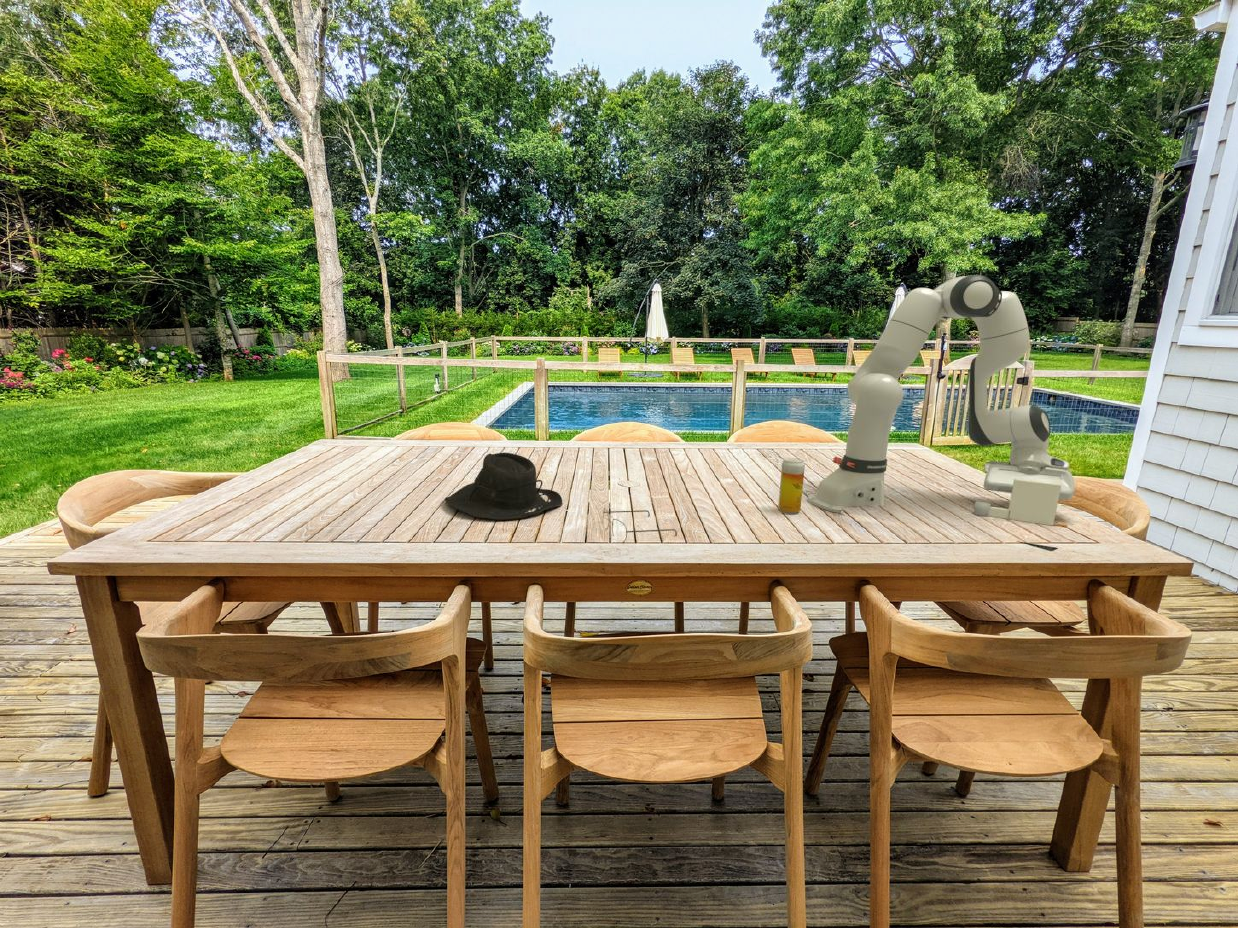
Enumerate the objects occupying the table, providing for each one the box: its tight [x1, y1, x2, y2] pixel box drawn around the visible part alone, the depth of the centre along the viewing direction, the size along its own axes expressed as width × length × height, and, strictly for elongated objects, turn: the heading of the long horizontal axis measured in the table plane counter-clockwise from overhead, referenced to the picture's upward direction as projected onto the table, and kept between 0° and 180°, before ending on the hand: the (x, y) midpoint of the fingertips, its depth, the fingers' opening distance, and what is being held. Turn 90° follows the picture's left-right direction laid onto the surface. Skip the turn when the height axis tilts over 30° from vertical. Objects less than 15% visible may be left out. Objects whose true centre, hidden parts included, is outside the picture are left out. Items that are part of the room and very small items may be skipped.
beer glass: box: [777, 457, 806, 515], centre depth 157 cm, size 6×6×15 cm
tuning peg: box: [973, 479, 1068, 528], centre depth 149 cm, size 21×4×11 cm, turn 60°
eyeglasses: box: [602, 507, 678, 543], centre depth 141 cm, size 16×15×5 cm
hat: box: [444, 452, 563, 521], centre depth 161 cm, size 32×35×14 cm
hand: (1026, 506), depth 151 cm, fingers closed
